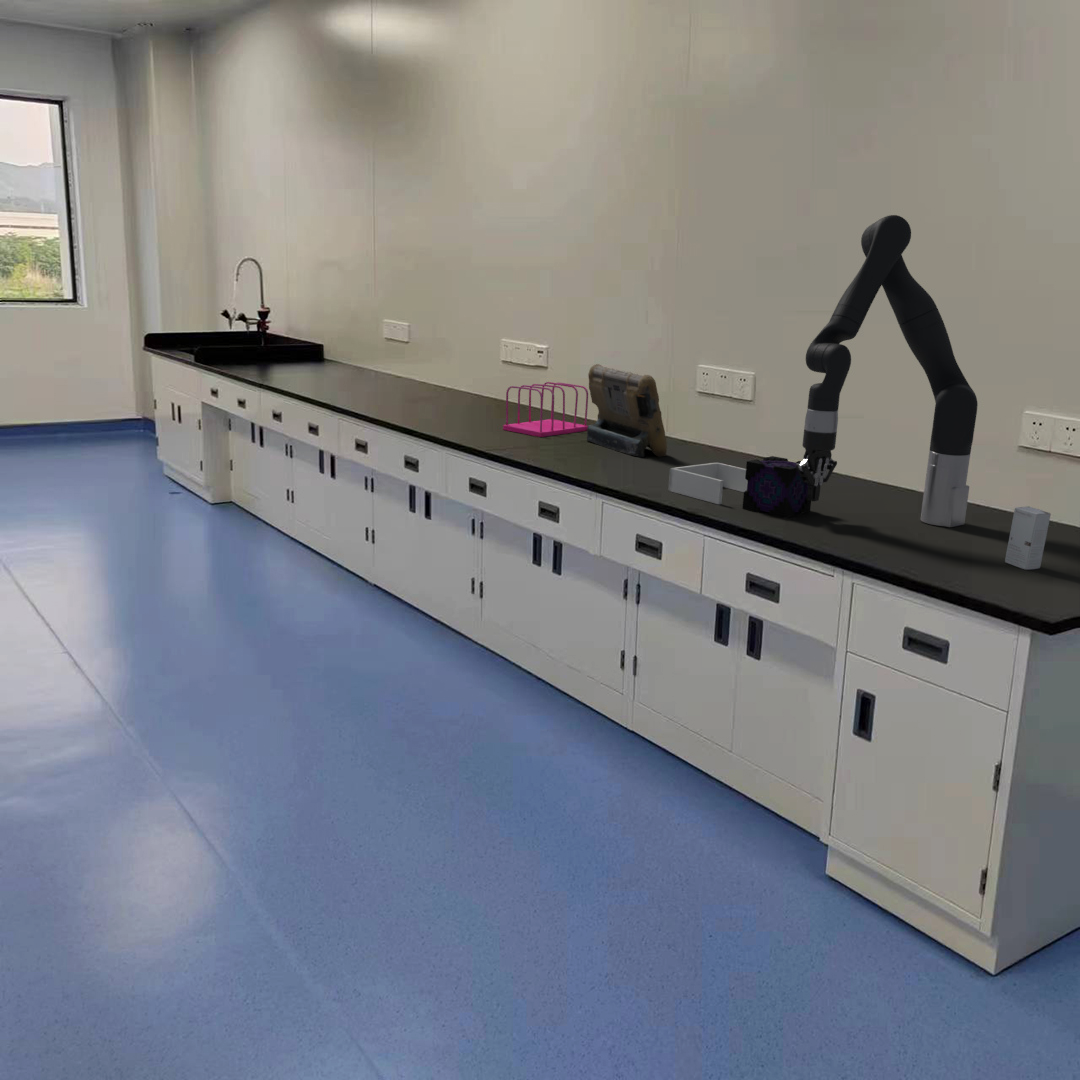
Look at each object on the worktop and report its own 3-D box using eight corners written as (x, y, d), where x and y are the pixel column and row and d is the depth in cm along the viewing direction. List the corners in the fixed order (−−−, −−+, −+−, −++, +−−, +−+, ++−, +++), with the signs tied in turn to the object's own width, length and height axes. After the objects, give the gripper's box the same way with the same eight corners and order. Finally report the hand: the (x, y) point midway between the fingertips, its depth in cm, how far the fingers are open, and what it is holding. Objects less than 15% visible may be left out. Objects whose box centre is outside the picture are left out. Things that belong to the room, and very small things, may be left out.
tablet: (675, 455, 344) (681, 374, 337) (640, 459, 336) (646, 375, 330) (610, 438, 369) (614, 362, 363) (576, 441, 362) (580, 363, 355)
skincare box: (1003, 562, 236) (1012, 506, 233) (1019, 561, 238) (1028, 505, 235) (1026, 570, 231) (1035, 513, 228) (1042, 568, 233) (1051, 512, 230)
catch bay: (766, 497, 290) (768, 474, 289) (718, 504, 279) (720, 481, 278) (715, 484, 304) (717, 462, 302) (668, 490, 293) (669, 468, 291)
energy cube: (785, 518, 268) (789, 469, 265) (742, 509, 276) (746, 461, 273) (810, 511, 277) (815, 463, 274) (768, 502, 285) (772, 456, 282)
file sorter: (502, 430, 377) (504, 383, 373) (551, 424, 395) (553, 379, 391) (540, 437, 366) (542, 389, 362) (589, 430, 384) (591, 385, 380)
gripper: (815, 433, 256) (807, 506, 260) (851, 429, 264) (842, 500, 268) (789, 428, 261) (782, 500, 266) (825, 424, 269) (817, 494, 274)
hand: (812, 500), depth 267 cm, fingers closed
